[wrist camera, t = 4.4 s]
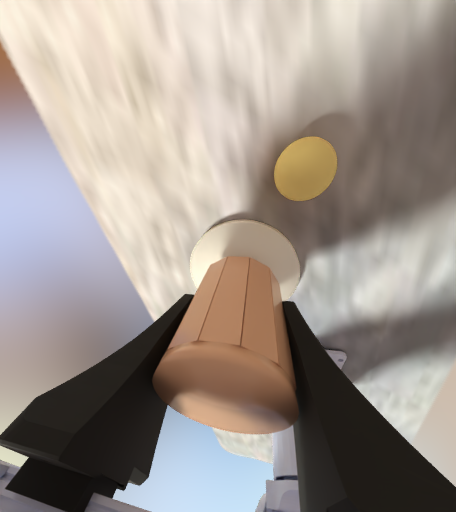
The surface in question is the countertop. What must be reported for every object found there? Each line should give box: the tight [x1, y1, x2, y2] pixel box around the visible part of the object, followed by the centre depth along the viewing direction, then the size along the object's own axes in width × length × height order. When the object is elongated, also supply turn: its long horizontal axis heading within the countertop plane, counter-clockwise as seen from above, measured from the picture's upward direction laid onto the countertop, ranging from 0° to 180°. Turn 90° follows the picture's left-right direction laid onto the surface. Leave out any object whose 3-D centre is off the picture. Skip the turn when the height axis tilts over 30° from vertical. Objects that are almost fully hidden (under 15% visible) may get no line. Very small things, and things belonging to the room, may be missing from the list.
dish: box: [190, 219, 300, 301], centre depth 14 cm, size 9×9×1 cm
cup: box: [152, 256, 299, 434], centre depth 9 cm, size 6×6×7 cm
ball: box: [274, 137, 337, 201], centre depth 9 cm, size 3×3×3 cm
